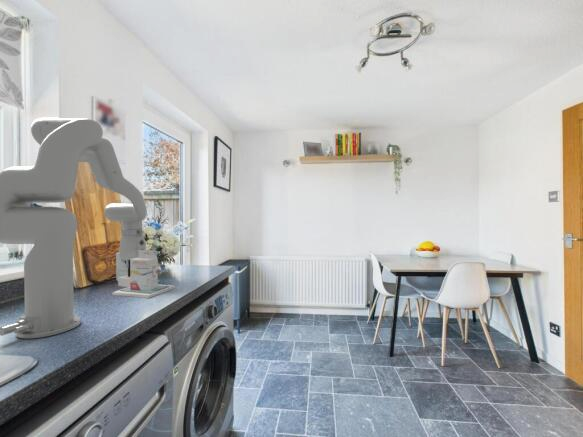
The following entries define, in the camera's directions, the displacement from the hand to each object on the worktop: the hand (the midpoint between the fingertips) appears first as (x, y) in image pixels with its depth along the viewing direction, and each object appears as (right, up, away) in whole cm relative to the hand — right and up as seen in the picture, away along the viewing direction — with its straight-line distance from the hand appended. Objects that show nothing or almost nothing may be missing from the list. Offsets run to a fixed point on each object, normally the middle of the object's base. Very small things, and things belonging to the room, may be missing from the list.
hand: (132, 276), depth 116 cm
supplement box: (-8, -4, +10) cm, 13 cm away
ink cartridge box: (+11, -3, -11) cm, 15 cm away
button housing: (0, -4, 0) cm, 4 cm away
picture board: (+11, -4, -10) cm, 15 cm away
